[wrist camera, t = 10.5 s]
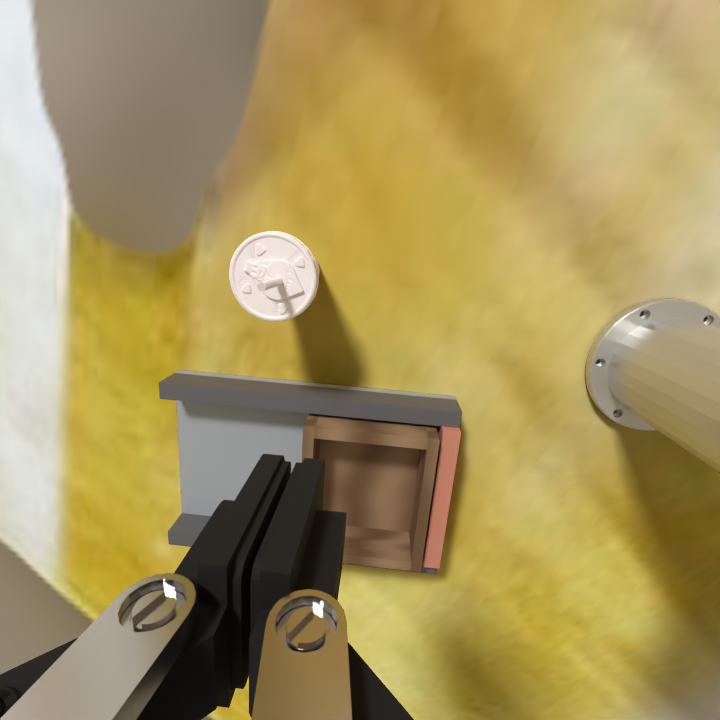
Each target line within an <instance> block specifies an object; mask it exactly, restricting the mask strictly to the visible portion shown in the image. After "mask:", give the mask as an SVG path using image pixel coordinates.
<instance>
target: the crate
mask: <svg viewBox="0 0 720 720" xmlns="http://www.w3.org/2000/svg"><path fill="white" fill-rule="evenodd" d="M439 444H440V439H439V435H438V432H437V428H436V426H433V425H423V424H413V423H402V422H392V421H382V420H372V419H362V418H351V417H341V416H331V415H321V414H311V413H309V415H308V417H307V419H306V422H305V424H304V426H303V440H302V462H303V460H304V458H313V459H323V460H325V476H324V493H323V510H327V511H337V512H346V513H347V517H346V531H345V543H344V553H343V562H342V563H345V564H354V565H363V566H372V567H381V568H390V569H399V570H408V571H417V572H421V566H422V559H423V553H424V546H425V539H426V532H427V525H428V519H429V512H430V505H431V498H432V491H433V485H434V478H435V471H436V464H437V457H438V450H439Z"/></svg>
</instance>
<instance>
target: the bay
mask: <svg viewBox="0 0 720 720" xmlns="http://www.w3.org/2000/svg"><path fill="white" fill-rule="evenodd" d="M159 392H160V399H168V400H176V401H177V421H178V441H179V461H180V481H181V501H182V514H181V515H180V516H179V518H178V519H177V520H176V522H175V523H174V524H173V526H172V527H171V528H170V530H169V531H168V538H169V544H171V545H180V546H189V547H192V545H193V544H194V542H195V540H196V539H197V537H198V536H199V534H200V533H201V531H202V530H203V528H204V527H205V525H206V524H207V522H208V521H209V519H210V517H211V516H212V514H213V513H214V511H215V510H216V508H217V507H218V505H219V504H220V503H221V501H223V500H233V501H235V499H236V497H237V496H238V494H239V492H240V491H241V489H242V487H243V486H244V484H245V482H246V481H247V479H248V477H249V476H250V474H251V472H252V471H253V469H254V467H255V466H256V464H257V462H258V461H259V459H260V457H261V456H262V454H273V455H283V456H284V458H285V461H289V462H291V473H292V470H293V468H294V466H295V464H296V462H299V463H302V440H303V426H304V424H305V422H306V419H307V417H308V415H309V413H311V414H321V415H331V416H341V417H351V418H362V419H372V420H382V421H392V422H402V423H413V424H423V425H433V426H436V428H437V432H438V435H439V439H440V444H439V450H438V457H437V464H436V471H435V478H434V485H433V491H432V498H431V505H430V512H429V519H428V525H427V532H426V539H425V546H424V553H423V559H422V566H421V573H430V574H436V571H437V569H439V568H440V562H441V555H442V549H443V543H444V537H445V531H446V524H447V518H448V512H449V506H450V500H451V494H452V487H453V481H454V475H455V469H456V463H457V457H458V450H459V444H460V438H461V431H460V428H459V427H460V421H461V415H462V411H461V409H460V407H459V404H458V402H457V400H456V398H455V396H448V395H438V394H427V393H417V392H406V391H396V390H385V389H375V388H364V387H354V386H343V385H333V384H322V383H312V382H301V381H291V380H280V379H270V378H259V377H249V376H238V375H228V374H217V373H207V372H196V371H186V370H179V371H177V372H176V373H174V374H172V375H171V376H169V377H167V378H166V379H164V380H162V381H161V382H159ZM342 564H345V563H342ZM350 565H354V564H350ZM359 566H363V565H359ZM368 567H372V566H368ZM377 568H381V567H377ZM386 569H390V568H386ZM395 570H399V569H395ZM404 571H408V570H404ZM413 572H417V571H413Z"/></svg>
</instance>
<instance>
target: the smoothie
mask: <svg viewBox="0 0 720 720" xmlns="http://www.w3.org/2000/svg"><path fill="white" fill-rule="evenodd" d="M319 273H320V268H319V264H318V262H317V260H316V258H315V257H314V256H313V255H312V253H311V251H310V250H309V249H308V248H307V247H306V246H305V245H304V244H303V242H302V241H300V240H299V239H297V238H295V237H294V236H292V235H290V234H287V233H283V232H280V231H267V232H262V233H258V234H255V235H253V236H251V237H249V238H248V239H246V240H245V241H244V242H242V243H241V245H240V246H239V247H238V248H237V250H236V251H235V253H234V255H233V257H232V260H231V264H230V270H229V278H230V284H231V288H232V291H233V293H234V295H235V297H236V299H237V300H238V302H239V303H240V304H241V306H242V307H243V308H244V309H245V310H246V311H248V312H249V313H250V314H252V315H254V316H255V317H257V318H260V319H263V320H266V321H274V322H276V321H285V320H288V319H291V318H294V317H296V316H297V315H299V314H301V313H303V312H304V311H305V310H306V309H307V308H308V307H309V306H310V305H311V303H312V301H313V299H314V298H315V296H316V293H317V289H318V285H319Z"/></svg>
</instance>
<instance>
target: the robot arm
mask: <svg viewBox="0 0 720 720" xmlns="http://www.w3.org/2000/svg"><path fill="white" fill-rule="evenodd" d="M640 313H641V315H640ZM597 360H598V362H596V361H597ZM585 376H586V384H587V388H588V391H589V394H590V397H591V398H592V400H593V402H594V403H595V405H596V406H597V407H598V408H599V409H600V410H601V411H602V412H603V413H604V414H605V415H606V416H607V417H609V418H610V419H611V420H613V421H614V422H616V423H618V424H620V425H622V426H624V427H628V428H632V429H635V430H644V431H656V430H657V431H659V432H660V433H662V434H663V435H665V436H666V437H668V438H669V439H671V440H672V441H674V442H675V443H676V444H678V445H679V446H681V447H682V448H684V449H685V450H687V451H688V452H690V453H691V454H693V455H694V456H696V457H697V458H699V459H700V460H701V461H703V462H704V463H706V464H707V465H709V466H710V467H712V468H713V469H715V470H716V471H718V472H719V473H720V317H719V316H718V315H717V314H716V313H714V312H713V311H711V310H710V309H709V308H707V307H705V306H702V305H700V304H697V303H695V302H690V301H686V300H680V299H658V300H652V301H648V302H644V303H641V304H638V305H636V306H634V307H632V308H630V309H627V310H626V311H624V312H623V313H621V314H620V315H618V316H617V317H615V318H614V319H613V320H612V321H611V322H610V323H609V324H608V325H607V326H606V327H605V328H604V329H603V330H602V331H601V333H600V334H599V335H598V337H597V338H596V340H595V342H594V344H593V346H592V348H591V350H590V352H589V356H588V359H587V362H586V373H585ZM324 476H325V460H323V459H313V458H304V460H303V462H302V463H299V462H296V464H295V466H294V468H293V470H292V473H291V462H289V461H285V458H284V456H283V455H273V454H262V456H261V457H260V459H259V461H258V462H257V464H256V466H255V467H254V469H253V471H252V472H251V474H250V476H249V477H248V479H247V481H246V482H245V484H244V486H243V487H242V489H241V491H240V492H239V494H238V496H237V497H236V499H235V501H233V500H223V501H221V503H220V504H219V505H218V507H217V508H216V510H215V511H214V513H213V514H212V516H211V517H210V519H209V521H208V522H207V524H206V525H205V527H204V528H203V530H202V531H201V533H200V534H199V536H198V537H197V539H196V540H195V542H194V544H193V545H192V547H191V548H190V550H189V551H188V553H187V554H186V556H185V557H184V559H183V560H182V562H181V563H180V565H179V567H178V568H177V570H176V571H175V573H174V574H171V573H165V574H157V575H153V576H150V577H147V578H144V579H142V580H140V581H138V582H136V583H135V584H133V585H131V586H130V587H128V588H127V589H126V590H125V591H124V592H122V593H121V594H120V595H119V596H118V597H117V598H116V599H115V600H114V601H113V602H112V603H111V604H110V605H109V606H108V607H107V609H106V610H105V611H104V612H103V613H102V614H101V615H100V616H99V617H98V618H97V619H96V620H95V621H94V622H93V623H92V624H91V625H90V626H89V627H88V628H87V629H86V630H85V631H84V632H83V633H82V635H80V637H78V638H76V639H74V640H72V641H70V642H68V643H66V644H64V645H61V646H59V647H57V648H55V649H53V650H51V651H49V652H47V653H45V654H43V655H41V656H38V657H37V658H34V659H32V660H30V661H28V662H26V663H24V664H22V665H20V666H18V667H15V668H13V669H11V670H9V671H7V672H5V673H3V674H1V675H0V720H201V719H202V718H204V717H205V716H207V715H208V714H210V713H211V712H212V711H214V710H215V709H216V708H217V706H220V707H228V708H229V706H230V703H231V700H232V697H233V694H234V692H235V689H236V688H240V689H243V688H244V687H245V685H246V682H247V679H248V676H249V714H250V716H251V718H252V719H251V720H414V719H413V718H412V717H411V716H410V715H409V713H408V712H407V711H406V710H405V709H404V707H403V706H402V705H401V704H400V703H399V702H398V700H397V699H396V698H395V697H394V696H393V695H392V693H391V692H390V691H389V690H388V689H387V687H386V686H385V685H384V684H383V683H382V682H381V680H380V679H379V678H378V677H377V676H376V675H375V673H374V672H373V671H372V670H371V669H370V667H369V666H368V665H367V664H366V663H365V662H364V660H363V659H362V658H361V657H360V656H359V655H358V653H357V652H356V651H355V650H354V649H353V647H352V646H351V645H350V644H349V643H348V639H347V622H346V617H345V613H344V610H343V608H342V607H341V605H340V604H339V602H338V601H337V599H338V592H339V585H340V578H341V570H342V562H343V553H344V543H345V531H346V517H347V513H346V512H337V511H327V510H323V493H324Z"/></svg>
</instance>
